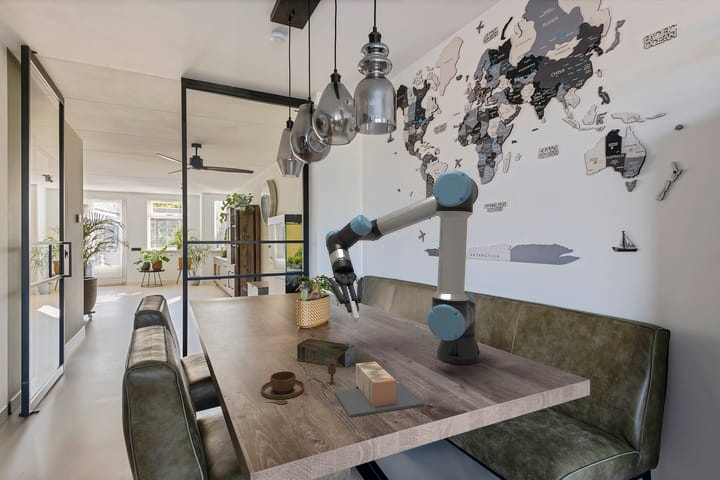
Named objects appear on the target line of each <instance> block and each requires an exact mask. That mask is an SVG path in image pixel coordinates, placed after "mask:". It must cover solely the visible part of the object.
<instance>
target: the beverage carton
mask: <svg viewBox="0 0 720 480" xmlns="http://www.w3.org/2000/svg"><path fill="white" fill-rule="evenodd" d="M296 347H297V351H296V352H297V353H296V354H297V355H296V356H297V361H299V362H303V363H304V362H305V363H311V364H317V365H324V366H328V364H336V368H344V369H345V368H347V367H349V366H350V365H351V364H352V363H354V362H355V345H354V344H350V343H349V344H348V343H347V344H346V343H341V342H334V341H328V340H320V339H313V338H307V339H305V340H303V341H301V342H299V343H298V344H297V346H296Z"/></svg>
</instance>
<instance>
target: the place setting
mask: <svg viewBox="0 0 720 480" xmlns="http://www.w3.org/2000/svg"><path fill="white" fill-rule="evenodd" d="M336 372H337V367H336V364H328V365H327V373H328V375H330V379H329V381H330V382H329V383H330V385H331V384H332V385H333V384H334V375H335V374H336ZM296 376H297V375H296V373H294V372H292V371H286V370H285V371H277V372H274V373H273V374H271V375H270V378H269V379H270V380H269V381H267V382H265V383H264V384H263V385H262V386H261V388H260V391H261V394H262V396H264V397H265V398H267V399H270V400H277V401H265V404H266V403H267V404H276V405H286V404H287V403H289V401H288V399H293V398H296V397H297V396H299V395H301V394H302V393H303V392H304V391H305V383H304V382H303V381H301V380H299V379H296V378H297V377H296ZM308 381H311V378H309V379H308ZM295 386H297V387H300V390H298V391H296V392H293V393H289V392H290V391H291V390H292V389H294V388H295ZM270 387H271V389H272V390H273V391H275V393H277V394H269V393H267V392H266V390H267V389H268V388H270ZM288 393H289V394H288Z"/></svg>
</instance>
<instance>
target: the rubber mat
mask: <svg viewBox="0 0 720 480" xmlns="http://www.w3.org/2000/svg"><path fill="white" fill-rule="evenodd" d="M334 395H335V396H336V398H337V399H338V402H340V404H341V406H342V408H343V409H344V411H345V413H346V414H347V416H348V417H349V418H354V417H355V418H356V417H359V416H367V415H372V414H379V413H385V412H391V411H398V410H399V411H400V410H404V409H411V408H412V409H413V408H418V407H424V406H425V403H424V402H423V401H422V400H421V399H420V398H419V397H418V396H416V395H415V393H413V392H412V391H411V390H410V389H409V388H407V386H405V385H404V384H403V383H402V382H396V404H390V405H383V406H377V407H373V405H372V404H371V403H370V402H369V400H368V399H367V398H366V397H365V395H364V394H363V393H362V392H361V390H360V389H359V388H353V389H344V390H335V391H334Z"/></svg>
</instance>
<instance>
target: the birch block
mask: <svg viewBox="0 0 720 480" xmlns="http://www.w3.org/2000/svg"><path fill="white" fill-rule="evenodd" d="M396 383H397V380H396V378H394V377H393V376H392V375H391V374H390V373H389V372H388V371H386V370H385V369H384V368H383V367H382V365H379V363H378V362H376V361H367V362H359V363H355V385H356V386H357V387H358V388H359V389H360V390H361V392H362V393H363V394H364V395H365V397H366V398H367V399H368V400H369V402H370V403H371V404H372V405H373V407H377V406H383V405H390V404H396ZM358 388H357V389H358Z"/></svg>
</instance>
